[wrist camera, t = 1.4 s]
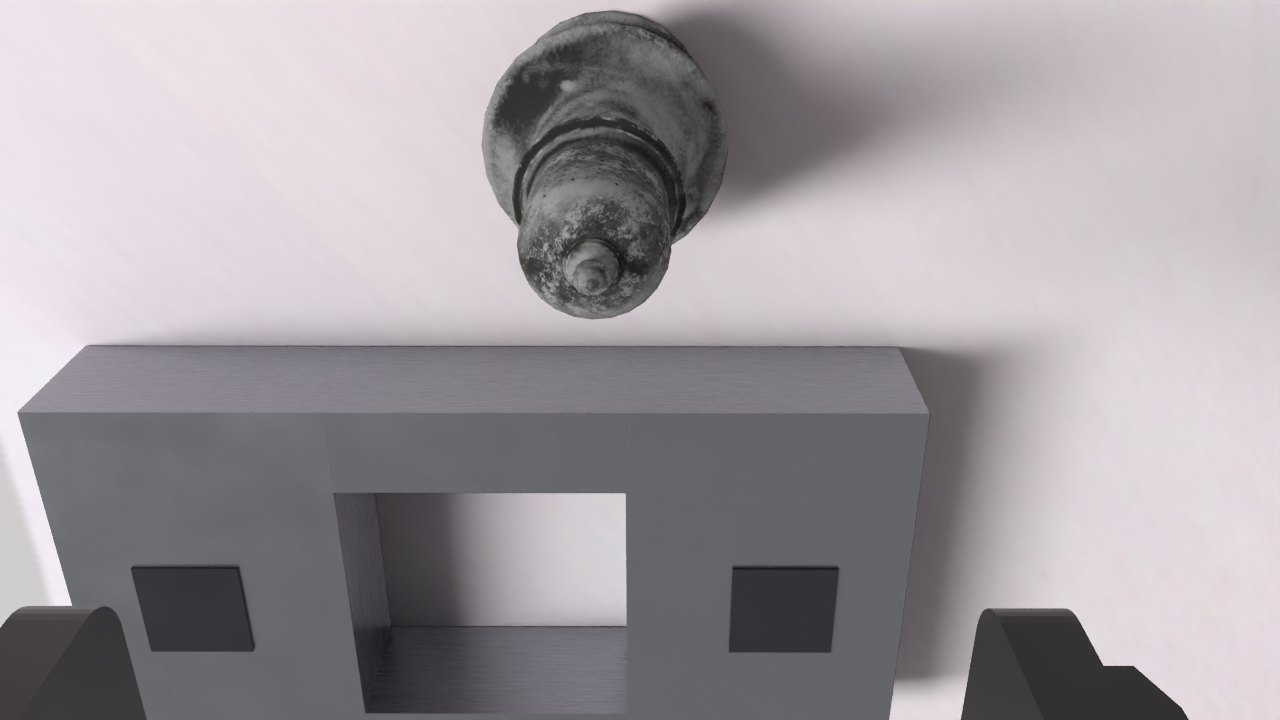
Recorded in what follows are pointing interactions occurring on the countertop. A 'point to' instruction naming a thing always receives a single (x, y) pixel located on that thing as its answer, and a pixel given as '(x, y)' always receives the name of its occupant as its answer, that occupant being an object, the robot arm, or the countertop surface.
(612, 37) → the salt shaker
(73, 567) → the gray slotted block
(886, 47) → the countertop surface
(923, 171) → the countertop surface
